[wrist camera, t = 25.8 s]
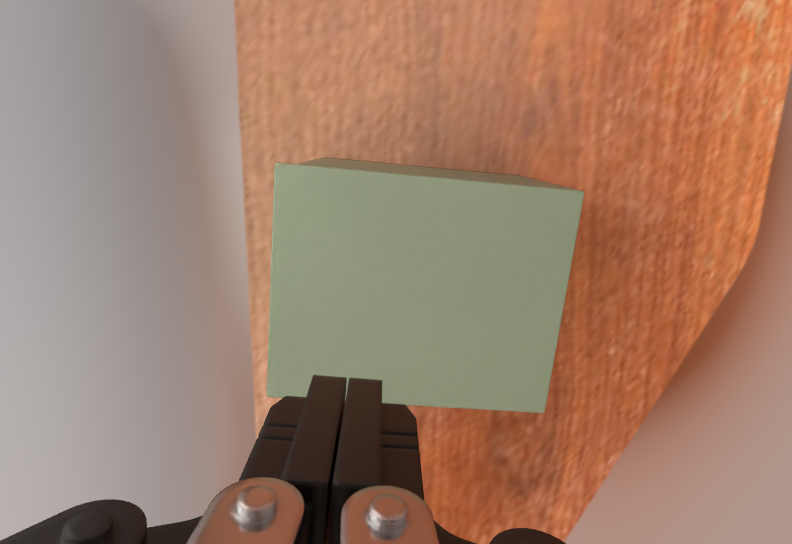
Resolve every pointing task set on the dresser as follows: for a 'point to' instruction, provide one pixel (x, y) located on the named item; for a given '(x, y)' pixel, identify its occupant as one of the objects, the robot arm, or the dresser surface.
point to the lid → (418, 285)
